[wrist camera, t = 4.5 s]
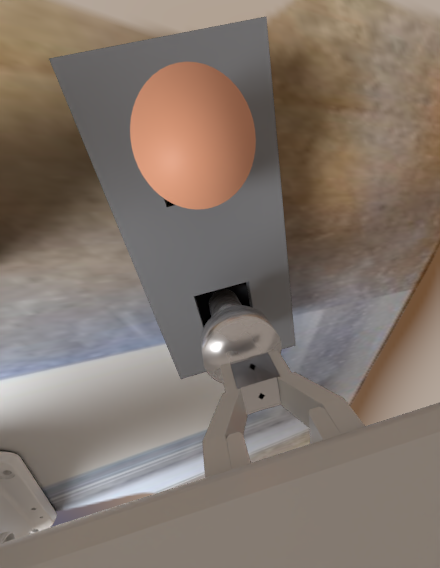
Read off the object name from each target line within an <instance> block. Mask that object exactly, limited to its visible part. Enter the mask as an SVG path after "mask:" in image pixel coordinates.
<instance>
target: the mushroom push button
mask: <svg viewBox="0 0 440 568" xmlns="http://www.w3.org/2000/svg"><path fill="white" fill-rule="evenodd" d="M130 139H131V145H132V150H133V154H134V158H135V160H136V163H137V165H138V168H139V170H140V171H141V173H142V175H143V177H144V178H145V180H146V181H147V182H148V184H149V185H150V186H151V187H152V188H153V190H155V191H156V192H157V193H158V194H159V195H160V196H161V197H163V198H164V199H166V200H167V201H169V202H171V203H173V204H175V205H177V206H180V207H183V208H187V209H195V210H197V209H208V208H212V207H215V206H218V205H220V204H222V203H224V202H226V201H227V200H229V199H230V198H231V197H232V196H233V195H235V194H236V193H237V191H238V190H239V189H240V188H241V187H242V185H243V184H244V182H245V181H246V179H247V177H248V175H249V173H250V170H251V167H252V164H253V160H254V155H255V147H256V136H255V127H254V121H253V118H252V114H251V111H250V109H249V106H248V104H247V102H246V100H245V98H244V97H243V95H242V93H241V92H240V91H239V89H238V88H237V86H236V85H235V84H234V83H233V82H232V81H231V80H230V79H229V78H228V77H227V76H225V75H224V74H223V73H221V72H220V71H218V70H216V69H215V68H213V67H210V66H208V65H206V64H202V63H197V62H179V63H175V64H171V65H168V66H166V67H164V68H162V69H160V70H159V71H158V72H156V73H155V74H154V75H152V76H151V78H150V79H149V80H148V81H147V82H146V83H145V84H144V86H143V87H142V89H141V90H140V92H139V94H138V96H137V98H136V100H135V103H134V106H133V110H132V115H131V122H130Z"/></svg>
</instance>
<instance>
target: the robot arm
mask: <svg viewBox="0 0 440 568" xmlns="http://www.w3.org/2000/svg"><path fill="white" fill-rule="evenodd" d="M230 365H231V366H230ZM220 370H221V374H222V379H223V384H224V388H225V393H223V394H222V396H221V399H220V401H219V404H218V406H217V408H216V411H215V413H214V415H213V418H212V420H211V423H210V425H209V427H208V430H207V432H206V435H205V437H204V439H203V455H204V468H205V478H203V479H200V480H197V481H194V482H191V483H187V484H184V485H181V486H178V487H175V488H172V489H169V490H166V491H163V492H159V493H156V494H153V495H150V496H147V497H144V498H141V499H138V500H135V501H131V502H128V503H125V504H122V505H119V506H116V507H113V508H110V509H107V510H103V511H100V512H97V513H94V514H91V515H88V516H85V517H82V518H79V519H76V520H73V521H69V522H67V523H63V524H60V525H57V526H54V527H51V526H52V525H53V523H54V521H55V519H56V517H57V513H56V512H55V510H54V508H53V507H52V505H51V504H50V502H49V501H48V499H47V498H46V496H45V494H44V493H43V491H42V490H41V488H40V487H39V485H38V484H37V482H36V481H35V479H34V478H33V476H32V474H31V473H30V471H29V470H28V468H27V467H26V465H25V464H24V462H23V461H22V459H21V458H20V456H19V455H17V454H15V453H11V452H2V451H0V568H440V403H436V404H434V405H430V406H428V407H425V408H421V409H418V410H415V411H412V412H409V413H405V414H402V415H399V416H396V417H393V418H390V419H387V420H384V421H381V422H377V423H374V424H371V425H368V426H365V425H364V424H363V423H362V421H361V420H360V419H359V418H358V416H357V415H356V414H355V412H354V411H353V410H352V408H351V407H350V406H349V405H348V403H347V402H346V401H345V399H344V398H342V397H340V396H338V395H337V394H335V393H333V392H331V391H329V390H327V389H325V388H323V387H322V386H320V385H318V384H316V383H314V382H312V381H310V380H308V379H307V378H305V377H303V376H301V375H299V374H297V373H295V372H294V373H292V372H291V371H290V369H289V368H288V366H287V364H286V363H285V361H284V359H283V358H282V356H281V354H280V353H279V351H278V350H277V349H274V350H271V351H268V352H265V353H261V354H258V355H255V356H251V357H248V358H245V359H241V360H237V361H233V362H230V363H227V364H223V365H220ZM278 405H282V406H283V407H284V408H285V409H287V410H288V411H289V412H290V413H292V414H293V415H294V416H295V417H296V418H298V419H299V420H300V421H301V422H303V423H304V424H305V425H306V426H307V427H309V428H310V444H309V445H306V446H303V447H300V448H296V449H293V450H290V451H287V452H284V453H281V454H278V455H275V456H272V457H268V458H265V459H262V460H259V461H256V462H253V463H251V461H250V458H249V454H248V451H247V447H246V444H245V440H244V436H243V434H244V429H245V425H246V421H247V415H249V414H251V413H254V412H257V411H260V410H263V409H267V408H270V407H274V406H278ZM49 527H51V528H49Z"/></svg>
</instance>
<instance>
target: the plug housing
mask: <svg viewBox="0 0 440 568" xmlns="http://www.w3.org/2000/svg"><path fill="white" fill-rule="evenodd" d="M49 60H50V62H51V65H52V67H53V69H54V72H55V74H56V77H57V79H58V82H59V84H60V87H61V89H62V91H63V94H64V96H65V99H66V101H67V104H68V106H69V108H70V111H71V113H72V116H73V118H74V121H75V123H76V125H77V128H78V130H79V133H80V135H81V138H82V140H83V143H84V145H85V147H86V150H87V152H88V155H89V157H90V160H91V162H92V164H93V167H94V169H95V172H96V174H97V177H98V179H99V181H100V184H101V186H102V189H103V191H104V194H105V196H106V198H107V201H108V203H109V206H110V208H111V211H112V213H113V216H114V218H115V220H116V223H117V225H118V228H119V230H120V233H121V235H122V237H123V240H124V242H125V245H126V247H127V250H128V252H129V254H130V257H131V259H132V262H133V264H134V267H135V269H136V271H137V274H138V276H139V279H140V281H141V284H142V286H143V289H144V291H145V293H146V296H147V298H148V301H149V303H150V306H151V308H152V310H153V313H154V315H155V318H156V320H157V323H158V325H159V327H160V330H161V332H162V335H163V337H164V340H165V342H166V345H167V347H168V349H169V352H170V354H171V357H172V359H173V362H174V364H175V366H176V369H177V371H178V374H179V376H180V379H183V378H186V377H190V376H193V375H197V374H200V373H203V372H207V371H206V369H205V367H204V363H203V356H202V348H201V334H202V330H203V328H204V325H203V321H202V318H201V315H200V312H199V308H198V305H197V302H196V298H195V296H197V295H200V294H204V293H208V292H212V291H215V290H219V289H223V288H226V287H230V286H234V285H237V284H241V283H245V282H246V285H247V291H248V296H249V302H250V307H253V308H255V309H257V310H259V311H261V312H262V313H263V314H264V315H265V316H266V317H267V319H268V320H269V322H270V323H271V325H272V326H273V328H274V329H275V331H276V332H277V334H278V335H279V337H280V340H281V349H285V348H288V347H292V346H295V337H294V326H293V314H292V303H291V292H290V280H289V269H288V257H287V246H286V235H285V223H284V212H283V201H282V189H281V178H280V167H279V155H278V144H277V133H276V121H275V110H274V99H273V87H272V76H271V65H270V53H269V42H268V30H267V19H266V17H261V18H256V19H251V20H246V21H241V22H236V23H230V24H225V25H220V26H215V27H210V28H205V29H199V30H194V31H189V32H184V33H179V34H174V35H168V36H163V37H158V38H153V39H148V40H143V41H137V42H132V43H127V44H122V45H117V46H112V47H106V48H101V49H96V50H91V51H86V52H81V53H75V54H70V55H65V56H60V57H55V58H50V59H49ZM179 62H197V63H202V64H206V65H208V66H210V67H213V68H215V69H216V70H218V71H220V72H221V73H223V74H224V75H225V76H227V77H228V78H229V79H230V80H231V81H232V82H233V83H234V84H235V85H236V86H237V88H238V89H239V91H240V92H241V93H242V95H243V97H244V98H245V100H246V102H247V104H248V106H249V109H250V111H251V114H252V118H253V121H254V127H255V136H256V147H255V155H254V160H253V164H252V167H251V170H250V173H249V175H248V177H247V179H246V181H245V182H244V184H243V185H242V187H241V188H240V189H239V190H238V191H237V193H236V194H235V195H233V196H232V197H231V198H230V199H229V200H227V201H226V202H224V203H222V204H220V205H218V206H215V207H212V208H208V209H197V210H195V209H187V208H183V207H180V206H177V205H171V206H167V203H166V199H164V198H163V197H161V196H160V195H159V194H158V193H157V192H156V191H155V190H153V188H152V187H151V186H150V185H149V184H148V182H147V181H146V180H145V178H144V177H143V175H142V173H141V171H140V170H139V168H138V165H137V163H136V160H135V158H134V154H133V150H132V145H131V139H130V122H131V115H132V110H133V106H134V103H135V100H136V98H137V96H138V94H139V92H140V90H141V89H142V87H143V86H144V84H145V83H146V82H147V81H148V80H149V79H150V78H151V76H152V75H154V74H155V73H156V72H158V71H159V70H160V69H162V68H164V67H166V66H168V65H171V64H175V63H179Z"/></svg>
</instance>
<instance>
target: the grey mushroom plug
mask: <svg viewBox="0 0 440 568" xmlns="http://www.w3.org/2000/svg"><path fill="white" fill-rule="evenodd" d="M209 309H210V313H211V318H210V319H209V320H208V322H207V323H206V324H205V326H204V328H203V330H202V334H201V348H202V356H203V363H204V367H205V369H206V371H207V373H208V374H209V375H210V376H211V377H212V378H213V379H215V380H216V381H218V382H221V383H223V379H222V374H221V370H220V365H223V364H227V363H230V362H233V361H237V360H241V359H245V358H248V357H251V356H255V355H258V354H261V353H265V352H268V351H271V350H274V349H277V350H278V351H279V353H280V354H281V340H280V337H279V335H278V334H277V332H276V331H275V329H274V328H273V326H272V325H271V323H270V322H269V320H268V319H267V317H266V316H265V315H264V314H263V313H262V312H261V311H259V310H257V309H255V308H253V307H249V306H242V305H241V303H240V301H239V299H238V297H237V296H236V294H235V293H234V292H232V291H230V290H227V289H223V290H219V291H217V292H215V293H214V294H213V295H212V296H211V297H210V299H209ZM230 366H231V365H230Z"/></svg>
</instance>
